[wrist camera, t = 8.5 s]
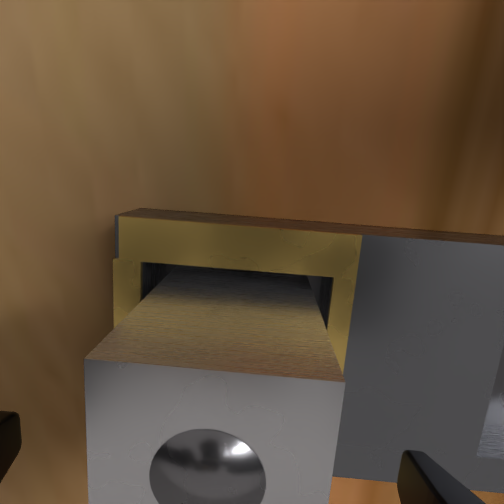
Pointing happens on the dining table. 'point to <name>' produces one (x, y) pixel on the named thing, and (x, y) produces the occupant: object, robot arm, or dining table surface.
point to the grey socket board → (366, 325)
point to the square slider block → (215, 395)
